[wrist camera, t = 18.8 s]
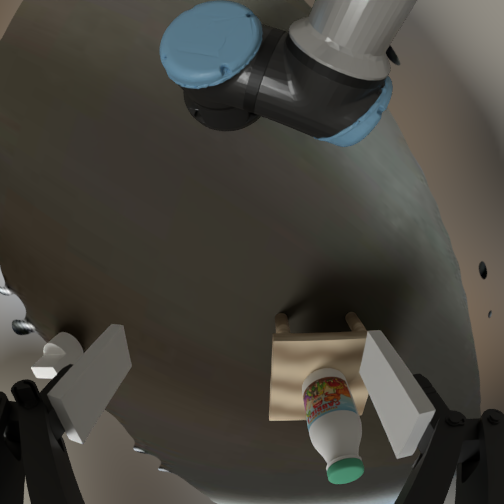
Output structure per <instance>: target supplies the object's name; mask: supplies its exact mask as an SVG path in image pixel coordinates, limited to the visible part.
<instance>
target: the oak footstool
mask: <svg viewBox="0 0 504 504" xmlns="http://www.w3.org/2000/svg"><path fill="white" fill-rule="evenodd" d="M345 320H346V322H347V323H348V325H349V327H350V329H351V331H352V332H329V333H290V329H289V324H288V318H287V315H286V314H284V313H279V314H277V315H276V317H275V324H276V333H273V342H272V364H271V385H270V404H269V421H283V420H307V419H306V413H305V407H304V401H303V395H302V385H303V382H304V380H305V379H306V378H307V376H309V375H310V374H311V373H312V372H314V371H316V370H319V369H323V368H333V369H336V370H338V371H340V372H341V373H342V374H343V375H344V376H345V378H346V381H347V383H348V386H349V388H350V391H351V394H352V397H353V399H354V402H355V405H356V408H357V411H358V414H359V415H362V413H363V410H364V407H365V404H366V400H367V397H368V391H367V388H366V386H365V384H364V382H363V380H362V378H361V375H360V373H359V371H360V366H361V362H362V357H363V352H364V348H365V343H366V337H367V332H368V331H367V330H366V328H365V327H364V325H363V324H362V322H361V321H360V319H359V318H358V316H357V315H356V313H355V312H349V313H347V315H346V316H345ZM370 331H374V330H370Z"/></svg>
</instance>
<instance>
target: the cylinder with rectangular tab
mask: <svg viewBox="0 0 504 504" xmlns="http://www.w3.org/2000/svg"><path fill="white" fill-rule="evenodd" d="M83 354H84V352H83V349H82V346H81V345H80V343H79V342H78V340H77V339H76V338H75V337H74V336H72V335H71V334H69V333H66V332H61V333H59V334H58V335H56V336H55V337H54V338H53V339H52V340H51V341H49V342H48V343H47V344H46V345H45V346H44V355H43V356H42V357H41V358H40V359H39V360H38V361H37V362H36V363H35V364H34V365H33V366H32V367H31V369H32V370H33V373H34V374H35V376H36V377H37V378H52V379H53V378H54V377H55V376H57V373H58V372H59V371H60V370H61V369H62V368H64V367H65V366H67V365H69V364H73V365H74V364H75V363H76V361H77V360H78V359H79V358H80V357H81V356H82V355H83Z"/></svg>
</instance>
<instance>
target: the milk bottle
mask: <svg viewBox="0 0 504 504" xmlns="http://www.w3.org/2000/svg"><path fill="white" fill-rule="evenodd" d="M302 395H303V401H304V407H305V413H306V419H307V425H308V430H309V435H310V439H311V441H312V444H313V446H314V447H315V448H316V450H317V451H318V452H319V453H320V454H321V455H322V456H323V457H324V459H325V460H326V462H327V464H328V465H327V467H326V469H327V475H328V479H329V481H330V482H331V483H334V484H344V483H349V482H352V481H354V480H356V479H358V478H359V477H360V476H361V475H362V474H363V473H364V466H363V463H362V459H361V457H360V456H358V449H359V444H360V440H361V436H362V425H361V420H360V417H359V414H358V411H357V408H356V405H355V402H354V399H353V397H352V394H351V391H350V388H349V386H348V383H347V381H346V378H345V376H344V375H343V374H342V373H341V372H340V371H338V370H336V369H333V368H323V369H319V370H316V371H314V372H312V373H311V374H310V375H309V376H307V378H306V379H305V380H304V382H303V385H302Z"/></svg>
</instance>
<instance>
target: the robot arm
mask: <svg viewBox="0 0 504 504" xmlns="http://www.w3.org/2000/svg"><path fill="white" fill-rule="evenodd" d="M416 1H417V0H315V2H314V5H313V7H312V10H311V13H310V15H309V17H305V18H302V19H299V20H296V21H295V22H293V23H292V24H291V26H290V28H289V31H288V32H286V31H282V30H279V29H276V28H273V27H269V26H266V25H262V24H261V22H260V20H259V19H258V18H257V16H255V15H254V14H253V12H252V11H251V10H250V9H249V8H247V7H246V6H243V5H241V4H239V3H236V2H232V1H224V0H217V1H209V2H205V3H201V4H198V5H196V6H194V8H192V9H190V10H188V11H184V12H183V13H181V14H180V15H179V16H178V17H177V18H175V19H174V20H173V22H172V23H171V24H170V25H169V26H168V28H167V29H166V31H165V33H164V35H163V37H162V40H161V44H160V57H161V61H162V64H163V66H164V68H165V69H166V71H167V74H168V76H169V77H170V78H171V79H172V80H173V81H174V82H176V84H178V85H179V86H180V87H181V88H182V89H183V90H184V100H185V104H186V106H187V108H188V110H189V112H190V113H191V115H192V116H193V117H194V118H195V119H196V120H197V121H198V122H200V123H201V124H203V125H204V126H206V127H208V128H211V129H214V130H218V131H234V130H239V129H242V128H245V127H247V126H249V125H251V124H252V123H254V122H255V121H257V120H258V119H259V118H260V117H261V116H262V117H265V118H268V119H270V120H273V121H276V122H278V123H281V124H283V125H286V126H288V127H291V128H293V129H296V130H298V131H301V132H303V133H305V134H308V135H310V136H312V137H314V138H315V139H318V140H321V141H327V142H329V143H332V144H335V145H337V146H341V147H348V146H352V145H354V144H356V143H358V142H360V141H361V140H362V139H364V138H365V137H366V136H367V135H368V134H369V133H370V132H371V131H372V130H373V129H374V127H375V126H376V125H377V123H378V122H379V120H380V119H381V114H382V112H383V111H384V110H385V109H386V108H387V106H388V104H389V101H390V98H391V95H392V88H393V86H392V81H391V79H390V77H389V76H388V75H389V73H390V69H391V67H390V63H389V60H388V58H387V55H386V50H387V49H388V47H389V46H390V44H391V42H392V41H393V39H394V37H395V36H396V34H397V32H398V31H399V29H400V28H401V26H402V24H403V23H404V21H405V19H406V18H407V16H408V14H409V13H410V11H411V10H412V8H413V6H414V4H415V3H416ZM131 367H132V365H131V360H130V356H129V351H128V347H127V342H126V337H125V332H124V326H123V325H116V324H111V325H110V326H109V327H108V328H107V329H106V330H105V331H104V332H103V333H102V335H101V336H100V337H99V338H98V339H97V340H96V341H95V342H94V343H93V344H92V345H91V346H90V347H89V348H88V349H87V351H86V352H85V353H84V354H83V355H82V356H81V357H80V358H79V359H78V360H77V361H76V363H75V364H74V365H73V364H69V365H67V366H65V367H64V368H62V369H61V370H60V371H59V372H58V373H57V376H55V377H54V378H53V380H51V381H50V382H49V383H48V384H47V385H46V387H45V388H44V389H43V390H42V391H41V392H40V393H39V391H38V388H37V386H36V384H35V382H33V381H31V380H21V381H18V382H17V383H15V384H14V385H13V387H12V388H11V392H12V394H13V396H14V398H15V400H16V402H13V401H9V400H8V398H7V396H6V394H5V393H3V392H0V504H23V500H24V482H25V477H26V482H27V487H28V492H29V497H30V501H31V504H85V503H84V500H83V498H82V495H81V493H80V490H79V487H78V484H77V482H76V479H75V476H74V473H73V470H72V467H71V463H70V460H69V457H68V453H67V451H66V447H65V443H64V440H63V438H62V435H63V433H64V432H66V434H67V435H68V438H69V439H70V440H72V441H75V442H78V443H81V444H84V442H85V440H86V439H87V437H88V435H89V434H90V432H91V430H92V428H93V427H94V425H95V424H96V422H97V420H98V419H99V417H100V416H101V414H102V412H103V411H104V409H105V408H106V406H107V404H108V403H109V401H110V400H111V398H112V396H113V395H114V393H115V392H116V390H117V388H118V387H119V385H120V384H121V382H122V381H123V379H124V377H125V376H126V374H127V373H128V371H129V370H130V368H131ZM359 373H360V375H361V378H362V380H363V382H364V384H365V386H366V388H367V391H368V393H369V395H370V397H371V400H372V402H373V404H374V406H375V409H376V411H377V413H378V415H379V418H380V420H381V422H382V425H383V427H384V429H385V432H386V434H387V436H388V439H389V441H390V443H391V446H392V448H393V451H394V453H395V455H396V458H397V459H398V458H402V457H406V456H410V455H413V453H414V451H415V450H416V448H417V446H418V448H419V450H420V452H421V453H420V454H419V456H418V458H417V459H416V461H415V462H414V464H413V466H412V467H413V469H412V471H411V473H410V475H409V477H408V479H407V481H406V483H405V485H404V487H403V489H402V491H401V492H400V494H399V496H398V498H397V500H396V501H395V503H394V504H443V503H444V501H445V498H446V495H447V493H448V490H449V487H450V484H451V481H452V479H453V476H454V472H455V469H456V466H457V479H456V497H455V504H504V414H503V413H502V412H501V411H498V410H496V409H488V410H486V411H484V413H483V414H482V416H481V418H479V419H466V417H465V416H464V415H463V414H462V413H460V412H457V411H452V410H449V408H448V407H447V406H446V404H445V403H444V401H443V400H442V398H441V397H440V396H439V394H438V393H436V390H435V389H434V387H432V384H431V383H430V382H429V380H428V379H427V378H425V377H424V376H422V375H421V374H415V375H412V374H411V372H410V371H409V369H408V368H407V366H406V365H405V363H404V362H403V361H402V359H401V358H400V356H399V355H398V354H397V352H396V351H395V349H394V348H393V346H392V345H391V344H390V342H389V341H388V340H387V338H386V337H385V335H384V334H383V333H382V331H381V330H374V331H368V332H367V337H366V343H365V348H364V352H363V357H362V362H361V366H360V371H359Z"/></svg>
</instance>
